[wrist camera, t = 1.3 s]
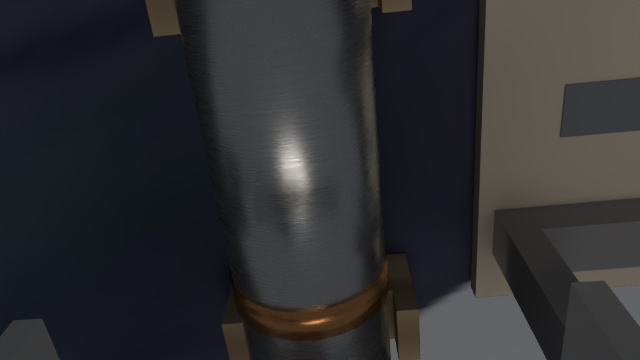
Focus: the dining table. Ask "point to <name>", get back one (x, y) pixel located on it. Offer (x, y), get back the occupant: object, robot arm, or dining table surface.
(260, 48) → the tube
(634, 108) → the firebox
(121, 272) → the dining table surface
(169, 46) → the dining table surface
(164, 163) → the dining table surface
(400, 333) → the rack
